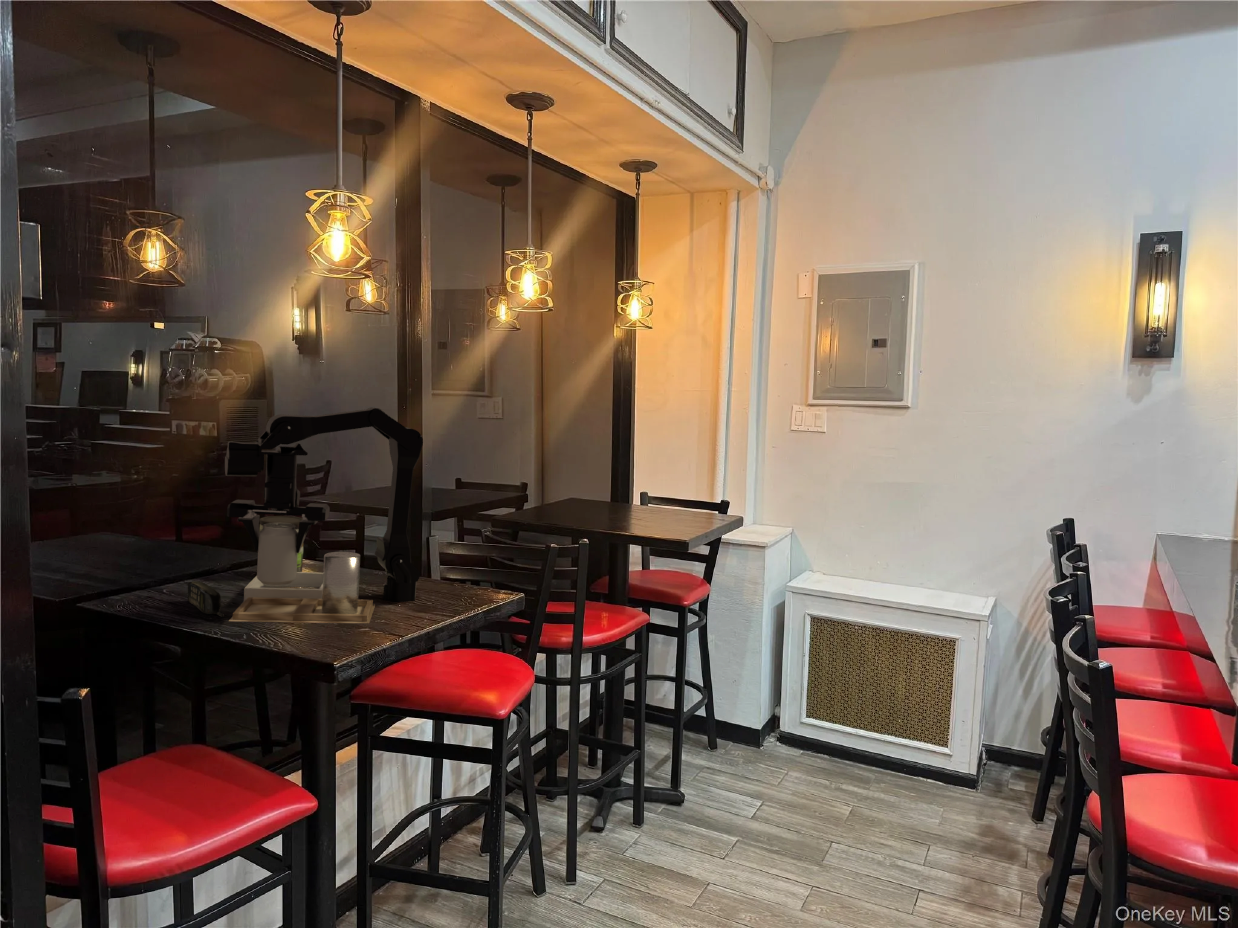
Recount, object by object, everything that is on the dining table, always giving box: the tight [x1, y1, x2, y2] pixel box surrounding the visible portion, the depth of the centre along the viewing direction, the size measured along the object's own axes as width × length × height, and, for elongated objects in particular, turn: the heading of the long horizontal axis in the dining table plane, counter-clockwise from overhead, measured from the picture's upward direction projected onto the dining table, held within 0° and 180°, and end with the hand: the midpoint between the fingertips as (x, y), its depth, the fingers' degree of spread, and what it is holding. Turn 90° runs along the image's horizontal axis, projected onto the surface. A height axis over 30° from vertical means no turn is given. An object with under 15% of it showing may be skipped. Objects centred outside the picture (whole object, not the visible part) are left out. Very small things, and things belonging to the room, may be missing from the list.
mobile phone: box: [187, 580, 225, 618], centre depth 166 cm, size 5×3×15 cm
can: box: [256, 523, 298, 585], centre depth 166 cm, size 8×8×12 cm
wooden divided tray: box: [228, 597, 376, 624], centre depth 165 cm, size 26×14×3 cm, turn 102°
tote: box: [243, 571, 323, 602], centre depth 179 cm, size 16×16×4 cm
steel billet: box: [322, 551, 361, 614], centre depth 166 cm, size 7×7×12 cm
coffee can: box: [259, 515, 304, 572], centre depth 197 cm, size 10×10×14 cm
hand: (277, 551), depth 166 cm, fingers closed on can, 7 cm apart
